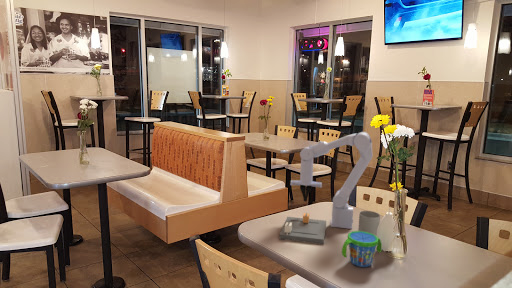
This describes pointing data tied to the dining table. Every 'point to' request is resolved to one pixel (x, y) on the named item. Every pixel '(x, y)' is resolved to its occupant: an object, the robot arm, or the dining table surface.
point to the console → (305, 230)
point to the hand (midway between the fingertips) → (305, 200)
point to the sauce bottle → (386, 230)
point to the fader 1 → (288, 227)
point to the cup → (369, 222)
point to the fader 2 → (306, 218)
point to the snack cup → (361, 247)
